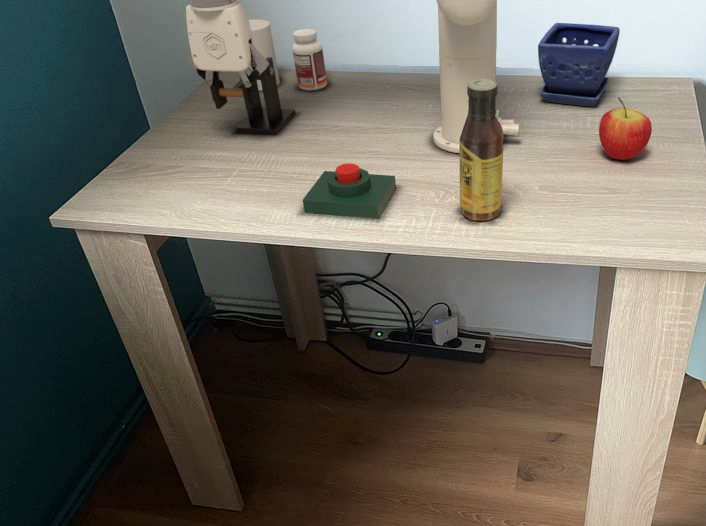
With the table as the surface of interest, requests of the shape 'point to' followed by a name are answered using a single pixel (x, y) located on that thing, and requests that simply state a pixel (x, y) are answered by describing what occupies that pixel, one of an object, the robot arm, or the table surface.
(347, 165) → the button
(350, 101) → the table surface
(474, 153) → the sauce bottle
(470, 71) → the robot arm
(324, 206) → the control block
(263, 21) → the cup
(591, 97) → the flower pot
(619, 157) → the apple
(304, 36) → the pill bottle
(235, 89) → the lever
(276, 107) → the bracket
